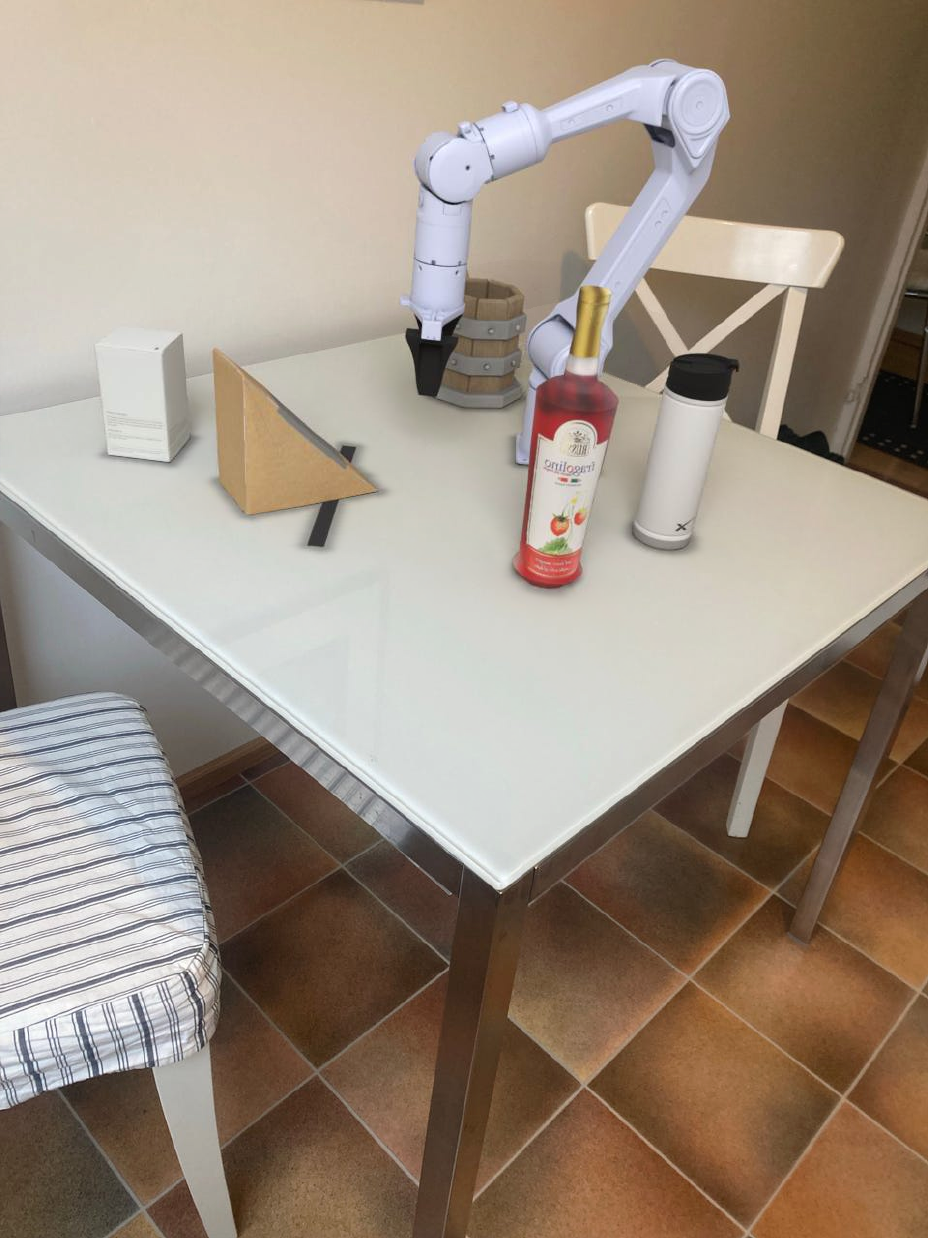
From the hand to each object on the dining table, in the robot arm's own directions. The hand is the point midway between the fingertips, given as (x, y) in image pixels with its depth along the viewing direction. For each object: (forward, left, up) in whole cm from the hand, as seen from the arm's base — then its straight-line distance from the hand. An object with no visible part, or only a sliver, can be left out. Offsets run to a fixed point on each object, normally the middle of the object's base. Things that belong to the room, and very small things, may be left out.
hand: (430, 382), depth 112 cm
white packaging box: (+31, +5, -10) cm, 33 cm away
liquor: (-14, +24, -10) cm, 29 cm away
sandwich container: (+13, +11, -10) cm, 19 cm away
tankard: (-4, -27, -10) cm, 29 cm away
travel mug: (-27, +13, -10) cm, 31 cm away
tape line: (+9, +11, -9) cm, 17 cm away
